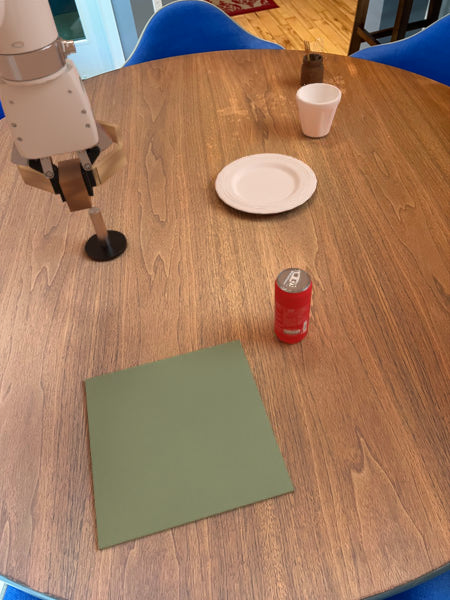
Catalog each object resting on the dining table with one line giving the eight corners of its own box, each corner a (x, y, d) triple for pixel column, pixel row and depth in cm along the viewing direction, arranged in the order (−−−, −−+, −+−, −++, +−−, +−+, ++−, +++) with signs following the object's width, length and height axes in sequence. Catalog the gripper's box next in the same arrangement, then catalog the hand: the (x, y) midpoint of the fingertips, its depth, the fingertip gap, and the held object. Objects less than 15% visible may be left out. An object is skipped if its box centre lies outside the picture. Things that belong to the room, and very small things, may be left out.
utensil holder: (327, 82, 129) (331, 35, 120) (312, 91, 126) (316, 43, 117) (309, 77, 132) (312, 30, 123) (295, 85, 129) (297, 38, 120)
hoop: (23, 222, 66) (9, 192, 62) (25, 147, 79) (13, 118, 76) (137, 198, 68) (129, 167, 64) (119, 128, 81) (112, 100, 78)
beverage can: (269, 341, 74) (269, 288, 65) (279, 316, 77) (281, 263, 68) (302, 350, 72) (307, 297, 63) (311, 324, 75) (317, 270, 66)
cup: (340, 142, 109) (344, 102, 102) (296, 144, 110) (297, 105, 103) (334, 119, 116) (338, 81, 109) (292, 122, 116) (294, 84, 109)
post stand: (87, 265, 88) (72, 229, 81) (84, 238, 93) (70, 201, 86) (130, 255, 89) (118, 218, 82) (124, 229, 94) (113, 192, 87)
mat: (99, 550, 56) (98, 549, 55) (85, 380, 71) (84, 379, 71) (294, 491, 59) (294, 490, 58) (239, 340, 74) (239, 339, 74)
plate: (300, 154, 107) (300, 146, 106) (329, 210, 93) (330, 202, 92) (208, 168, 106) (208, 161, 104) (224, 228, 92) (224, 220, 91)
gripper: (99, 35, 58) (131, 168, 71) (-42, 58, 55) (19, 190, 69) (105, 58, 53) (138, 196, 66) (-49, 85, 51) (18, 222, 64)
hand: (77, 192), depth 68 cm, fingers closed on hoop, 3 cm apart
